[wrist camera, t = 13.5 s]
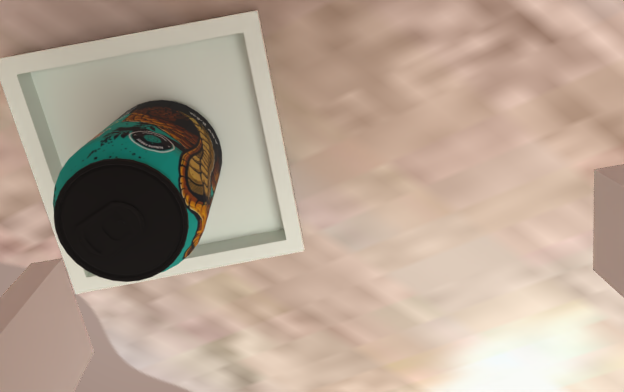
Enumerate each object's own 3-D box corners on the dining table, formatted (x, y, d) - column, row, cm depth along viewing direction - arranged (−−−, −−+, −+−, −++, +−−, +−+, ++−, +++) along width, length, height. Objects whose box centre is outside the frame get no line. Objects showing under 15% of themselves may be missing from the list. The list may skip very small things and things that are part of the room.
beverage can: (245, 166, 37) (234, 240, 26) (159, 225, 38) (112, 322, 27) (175, 75, 35) (131, 112, 24) (86, 140, 36) (2, 206, 25)
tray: (11, 55, 35) (-8, 60, 32) (257, 9, 35) (257, 10, 32) (87, 276, 40) (75, 294, 37) (302, 235, 40) (304, 251, 37)
